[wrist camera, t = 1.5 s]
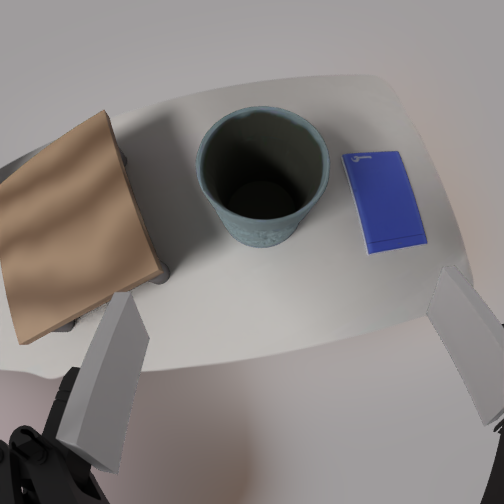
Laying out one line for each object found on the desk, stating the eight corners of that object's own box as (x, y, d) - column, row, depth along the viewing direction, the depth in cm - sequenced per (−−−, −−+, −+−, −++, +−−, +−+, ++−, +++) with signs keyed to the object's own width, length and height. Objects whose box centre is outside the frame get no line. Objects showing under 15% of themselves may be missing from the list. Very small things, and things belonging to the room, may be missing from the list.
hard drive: (342, 153, 33) (370, 253, 30) (399, 150, 33) (428, 242, 31) (339, 159, 35) (365, 256, 32) (394, 156, 35) (422, 245, 32)
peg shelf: (29, 209, 34) (-6, 189, 26) (128, 144, 35) (104, 109, 27) (61, 342, 30) (19, 344, 22) (182, 282, 31) (158, 269, 23)
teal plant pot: (272, 158, 34) (278, 89, 23) (325, 225, 32) (358, 176, 21) (199, 202, 33) (172, 145, 21) (248, 276, 31) (243, 250, 19)
